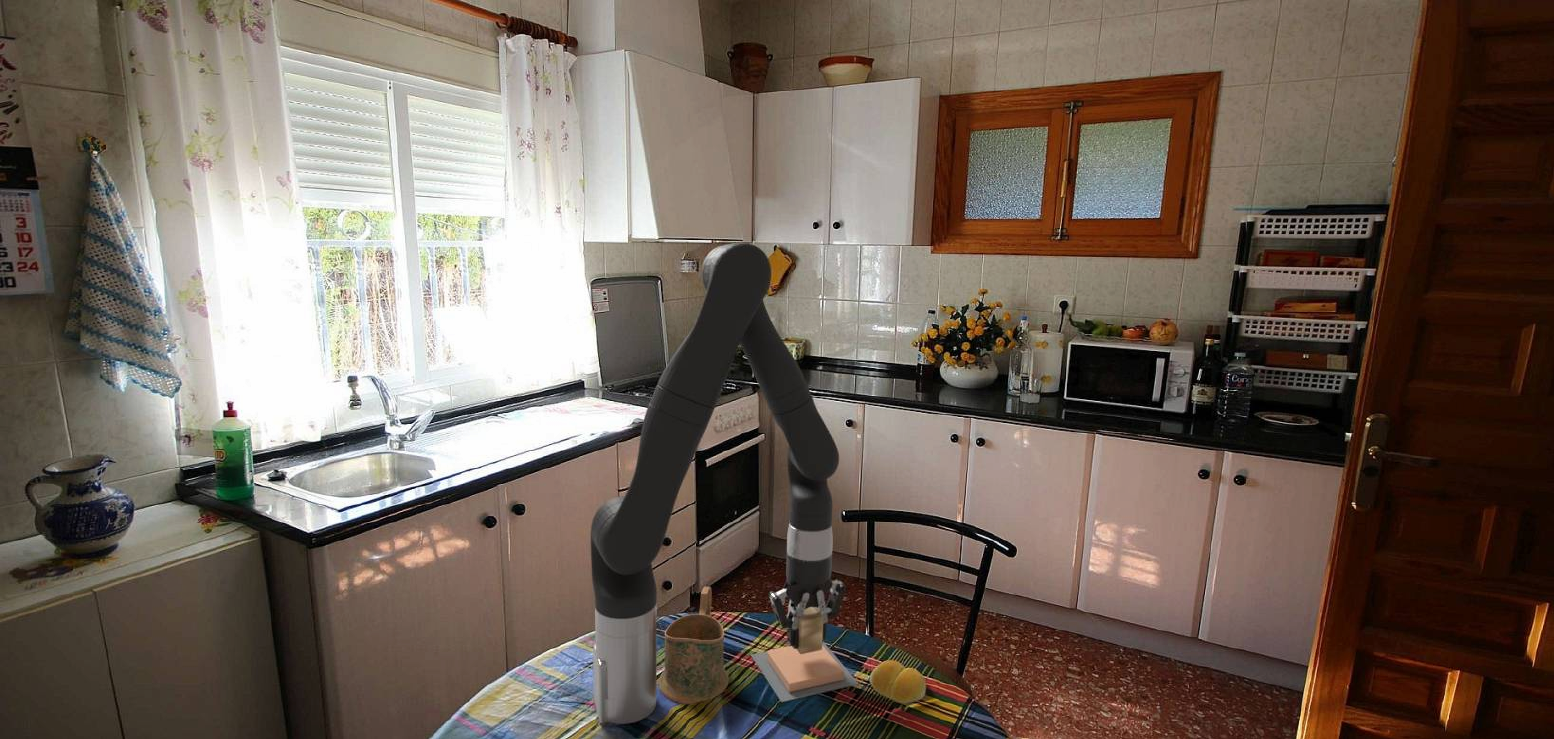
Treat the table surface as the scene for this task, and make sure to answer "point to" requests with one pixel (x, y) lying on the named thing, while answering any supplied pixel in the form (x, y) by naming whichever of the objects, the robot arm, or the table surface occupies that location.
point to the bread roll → (898, 682)
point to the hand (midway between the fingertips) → (806, 643)
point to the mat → (786, 695)
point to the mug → (694, 656)
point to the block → (810, 631)
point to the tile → (804, 667)
